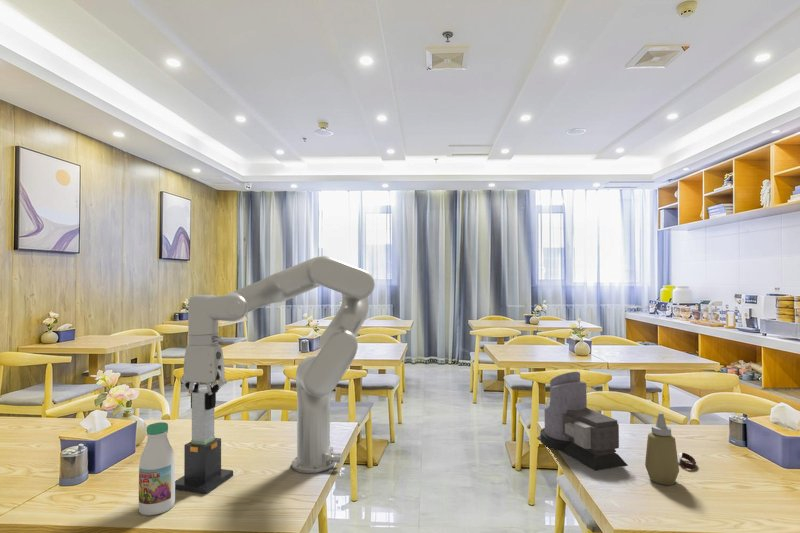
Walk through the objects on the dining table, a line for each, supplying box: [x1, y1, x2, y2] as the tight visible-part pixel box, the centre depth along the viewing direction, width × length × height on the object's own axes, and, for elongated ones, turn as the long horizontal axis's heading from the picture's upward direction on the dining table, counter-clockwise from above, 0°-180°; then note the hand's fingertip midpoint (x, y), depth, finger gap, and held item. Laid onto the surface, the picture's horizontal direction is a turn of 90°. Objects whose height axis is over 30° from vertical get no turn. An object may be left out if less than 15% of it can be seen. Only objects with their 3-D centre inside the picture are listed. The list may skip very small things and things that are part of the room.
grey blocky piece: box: [536, 371, 629, 472], centre depth 145 cm, size 30×16×24 cm, turn 17°
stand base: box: [175, 437, 234, 495], centre depth 122 cm, size 11×11×11 cm
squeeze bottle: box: [644, 412, 680, 486], centre depth 122 cm, size 8×8×18 cm
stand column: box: [190, 388, 216, 446], centre depth 123 cm, size 4×4×17 cm
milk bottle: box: [138, 421, 176, 516], centre depth 109 cm, size 8×8×20 cm
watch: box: [677, 451, 697, 470], centre depth 132 cm, size 8×5×4 cm, turn 150°
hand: (203, 407), depth 123 cm, fingers closed on stand column, 4 cm apart
